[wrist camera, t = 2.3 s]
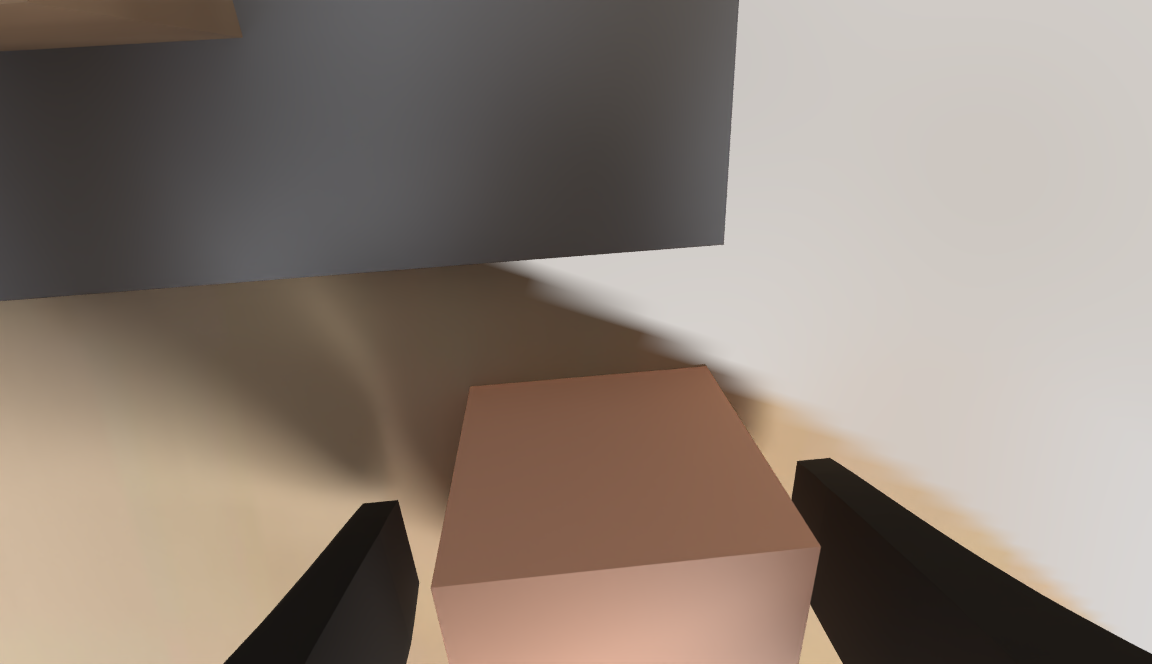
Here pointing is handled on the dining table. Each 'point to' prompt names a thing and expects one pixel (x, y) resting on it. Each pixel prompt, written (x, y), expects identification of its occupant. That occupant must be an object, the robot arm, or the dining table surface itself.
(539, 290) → the dining table surface
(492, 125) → the base
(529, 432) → the terracotta block
